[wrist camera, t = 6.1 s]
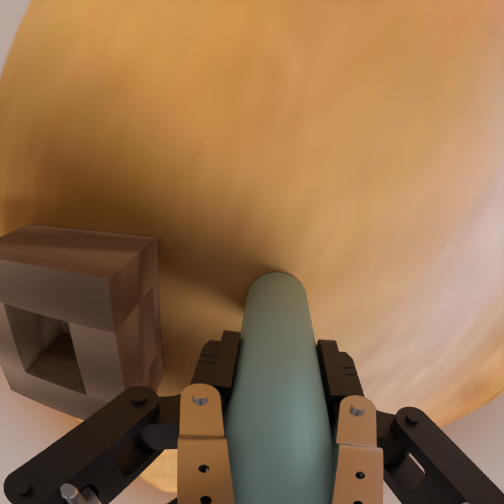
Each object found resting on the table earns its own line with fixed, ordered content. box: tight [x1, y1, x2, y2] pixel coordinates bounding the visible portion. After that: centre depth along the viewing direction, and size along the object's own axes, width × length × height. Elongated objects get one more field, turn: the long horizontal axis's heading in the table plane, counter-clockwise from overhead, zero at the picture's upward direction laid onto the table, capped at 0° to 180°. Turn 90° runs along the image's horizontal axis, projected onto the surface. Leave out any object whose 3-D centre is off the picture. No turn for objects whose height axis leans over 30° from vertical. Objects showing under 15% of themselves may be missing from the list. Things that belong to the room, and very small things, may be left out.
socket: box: [0, 225, 164, 420], centre depth 16 cm, size 10×10×6 cm
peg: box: [224, 272, 333, 504], centre depth 11 cm, size 3×3×14 cm
